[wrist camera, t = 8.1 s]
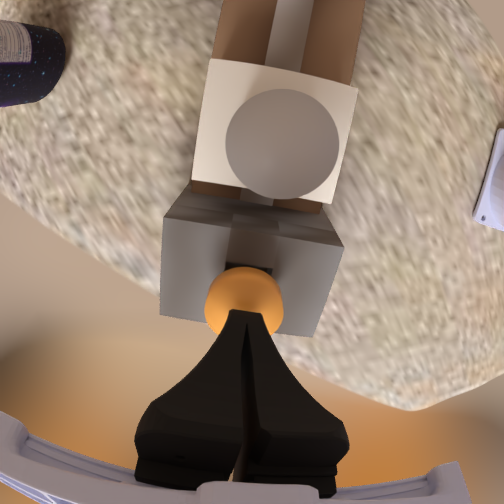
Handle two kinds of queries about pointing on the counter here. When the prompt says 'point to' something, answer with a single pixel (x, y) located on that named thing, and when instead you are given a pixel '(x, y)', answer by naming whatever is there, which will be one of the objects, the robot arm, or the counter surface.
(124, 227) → the counter surface
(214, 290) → the button
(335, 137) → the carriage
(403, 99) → the counter surface
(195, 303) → the rail
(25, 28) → the beverage can
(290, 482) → the robot arm
